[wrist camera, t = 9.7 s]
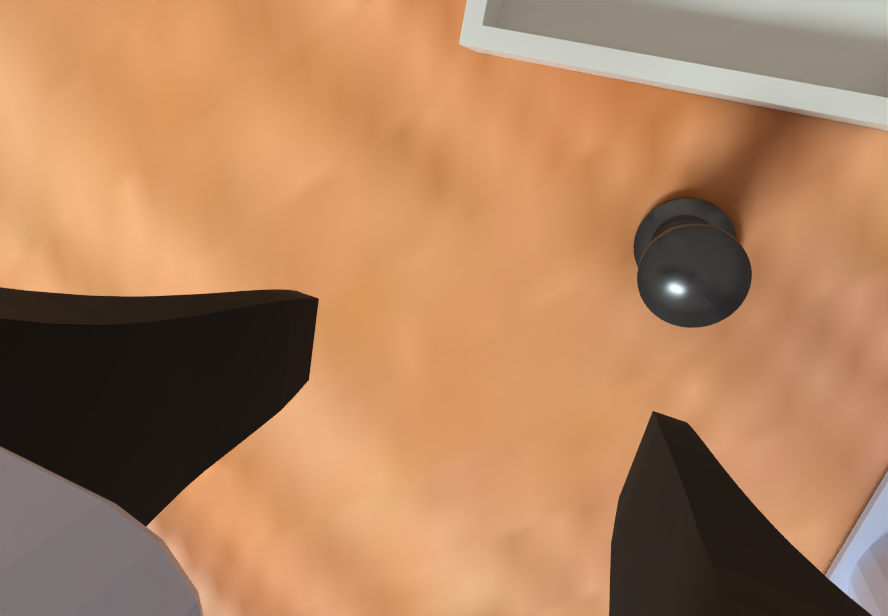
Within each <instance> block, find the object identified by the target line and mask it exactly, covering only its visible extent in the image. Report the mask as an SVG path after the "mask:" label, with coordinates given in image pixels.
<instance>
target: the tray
mask: <svg viewBox="0 0 888 616" xmlns="http://www.w3.org/2000/svg"><path fill="white" fill-rule="evenodd" d="M459 44H460V45H462V46H464V47H467V48H469V49H471V50H473V51H475V52H478V53H483V54H489V55H494V56H499V57H504V58H509V59H515V60H520V61H525V62H530V63H535V64H541V65H546V66H551V67H556V68H561V69H567V70H572V71H577V72H582V73H588V74H593V75H598V76H603V77H608V78H614V79H619V80H624V81H629V82H634V83H640V84H645V85H650V86H655V87H660V88H666V89H671V90H676V91H681V92H687V93H692V94H697V95H702V96H707V97H713V98H718V99H723V100H728V101H733V102H739V103H744V104H749V105H754V106H759V107H765V108H770V109H775V110H780V111H785V112H791V113H796V114H801V115H806V116H812V117H817V118H822V119H827V120H832V121H838V122H843V123H848V124H853V125H858V126H864V127H869V128H874V129H879V130H884V131H888V0H467V4H466V9H465V14H464V20H463V25H462V30H461V36H460V41H459Z"/></svg>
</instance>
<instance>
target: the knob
mask: <svg viewBox="0 0 888 616" xmlns="http://www.w3.org/2000/svg"><path fill="white" fill-rule="evenodd" d="M634 256H635V260H636V263H637V265H638V275H637V283H638V289H639V292H640V295H641V297H642V299H643V301H644V303H645V304H646V306H647V307H648V308H649V309H650V311H651V312H652V313H654V314H655V315H656V316H657V317H659V318H660V319H662V320H664V321H666V322H668V323H670V324H673V325H677V326H681V327H704V326H708V325H712V324H715V323H717V322H719V321H721V320H723V319H725V318H727V317H728V316H730V315H731V314H732V313H733V312H735V311H736V310H737V309H738V307H739V306H740V305H741V304H742V302H743V301H744V300H745V298H746V296H747V294H748V291H749V288H750V285H751V277H752V272H751V265H750V261H749V258H748V256H747V254H746V252H745V251H744V249H743V247H742V246H741V245H740V244H739V242H738V241H737V239H736V233H735V230H734V227H733V225H732V223H731V221H730V220H729V218H728V217H727V216H726V215H725V213H724V212H723V211H722V210H720V209H719V208H718V207H717V206H715V205H713V204H712V203H709V202H707V201H704V200H701V199H696V198H679V199H674V200H670V201H667V202H665V203H663V204H661V205H659V206H657V207H656V208H654V209H653V210H652V211H651V212H650V213H649V214H648V215H647V216H646V217H645V218H644V219H643V221H642V222H641V224H640V225H639V227H638V230H637V232H636V235H635V240H634Z"/></svg>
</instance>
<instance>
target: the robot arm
mask: <svg viewBox="0 0 888 616" xmlns="http://www.w3.org/2000/svg"><path fill="white" fill-rule="evenodd" d="M318 300H319V299H318V298H315V297H312V296H309V295H306V294H303V293H301V292H298V291H293V290H252V291H238V292H224V293H210V294H193V295H172V296H146V297H120V296H87V295H74V294H61V293H48V292H36V291H25V290H17V289H9V288H1V287H0V616H203V612H202V607H201V603H200V598H199V594H198V591H197V589H196V588H195V586H194V585H193V583H192V582H191V581H190V579H189V578H188V576H187V575H186V573H185V572H184V570H183V569H182V567H181V566H180V564H179V563H178V561H177V560H176V558H175V557H174V555H173V554H172V552H171V551H170V549H169V548H168V546H167V545H166V543H165V542H164V540H163V539H161V538H160V537H159V536H157V535H156V534H155V533H153V532H152V531H151V530H149V529H148V528H147V527H146V526H147V525H148V524H149V523H150V522H151V521H152V520H153V519H154V518H155V517H156V516H157V515H158V514H159V513H160V512H161V511H162V510H163V509H164V508H165V507H166V506H167V505H168V504H169V503H170V502H171V501H172V500H173V499H174V498H175V497H176V496H177V495H178V494H179V493H180V492H181V491H182V490H183V489H185V488H186V487H187V486H188V485H189V484H190V483H191V482H192V481H194V480H195V479H196V478H197V477H198V476H199V475H201V474H202V473H203V472H204V471H205V470H207V469H208V468H209V467H210V466H212V465H213V464H214V463H215V462H217V461H218V460H219V459H221V458H222V457H223V456H224V455H226V454H227V453H228V452H229V451H231V450H232V449H233V448H234V447H236V446H237V445H238V444H240V443H241V442H242V441H243V440H245V439H246V438H247V437H248V436H250V435H251V434H252V433H254V432H255V431H256V430H257V429H259V428H260V427H261V426H262V425H263V424H265V423H266V422H267V421H268V420H270V419H271V418H272V417H273V416H275V415H276V414H277V413H278V412H279V411H281V410H282V409H283V408H284V407H285V405H286V404H287V403H288V402H289V401H290V400H291V399H292V398H293V397H294V396H295V395H296V394H297V393H298V392H299V390H300V389H301V388H302V387H303V386H304V385H305V384H306V382H307V381H308V380H309V374H310V366H311V357H312V349H313V341H314V333H315V325H316V317H317V309H318ZM609 616H888V471H887V473H886V474H885V476H884V478H883V479H882V481H881V483H880V484H879V486H878V488H877V489H876V491H875V493H874V494H873V496H872V498H871V499H870V501H869V503H868V504H867V506H866V508H865V509H864V511H863V513H862V514H861V516H860V518H859V519H858V521H857V523H856V524H855V526H854V528H853V529H852V531H851V533H850V534H849V536H848V538H847V539H846V541H845V543H844V544H843V546H842V548H841V549H840V551H839V553H838V554H837V556H836V558H835V559H834V561H833V563H832V564H831V566H830V568H829V569H828V571H827V573H826V574H825V575H824V574H822V573H821V572H820V571H819V570H818V569H817V568H816V567H815V566H814V565H813V564H812V563H811V562H810V561H809V560H807V559H806V558H805V557H804V556H803V555H802V554H801V553H800V552H799V551H798V550H797V549H796V548H795V547H794V546H793V545H792V544H791V543H790V542H789V541H788V540H787V539H786V538H785V537H784V536H783V535H782V534H781V533H780V532H779V531H778V530H777V529H776V528H775V527H774V526H773V525H772V524H771V523H770V522H769V521H768V520H767V518H766V517H765V516H764V515H763V514H762V513H761V512H760V511H759V510H758V509H757V507H756V506H755V505H754V504H753V503H752V502H751V501H750V500H749V498H748V497H747V496H746V495H745V494H744V493H743V491H742V490H741V489H740V488H739V487H738V485H737V484H736V483H735V482H734V481H733V479H732V478H731V477H730V476H729V474H728V473H727V472H726V471H725V469H724V468H723V467H722V466H721V464H720V463H719V462H718V460H717V459H716V458H715V457H714V455H713V454H712V453H711V451H710V450H709V449H708V448H707V446H706V445H705V444H704V442H703V441H702V440H701V438H700V437H699V436H698V435H697V433H696V432H695V431H694V430H693V429H692V427H691V426H690V425H689V424H688V423H687V422H684V421H681V420H678V419H675V418H672V417H669V416H666V415H663V414H660V413H657V412H654V411H653V412H652V415H651V417H650V420H649V422H648V425H647V427H646V430H645V433H644V435H643V438H642V440H641V443H640V445H639V448H638V451H637V453H636V456H635V458H634V461H633V463H632V466H631V468H630V471H629V474H628V476H627V479H626V481H625V484H624V486H623V489H622V491H621V494H620V497H619V500H618V506H617V512H616V518H615V523H614V530H613V536H612V542H611V568H610V606H609Z"/></svg>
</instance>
